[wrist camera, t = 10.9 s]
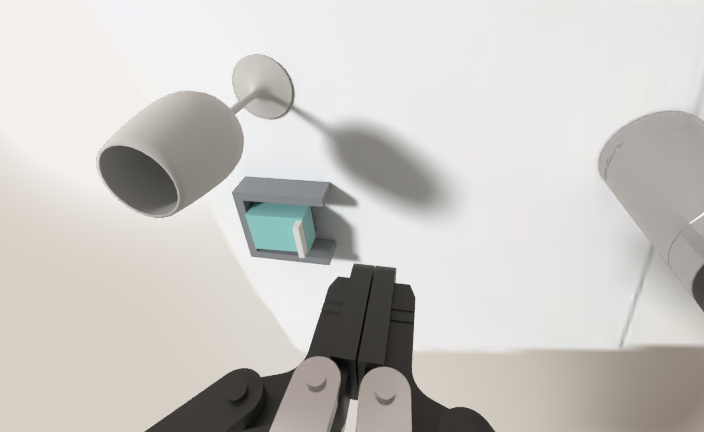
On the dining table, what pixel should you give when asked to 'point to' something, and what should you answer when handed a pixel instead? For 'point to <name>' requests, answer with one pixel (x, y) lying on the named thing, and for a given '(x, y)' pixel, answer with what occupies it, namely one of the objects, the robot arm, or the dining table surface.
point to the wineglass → (188, 140)
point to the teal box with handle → (282, 227)
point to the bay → (283, 194)
